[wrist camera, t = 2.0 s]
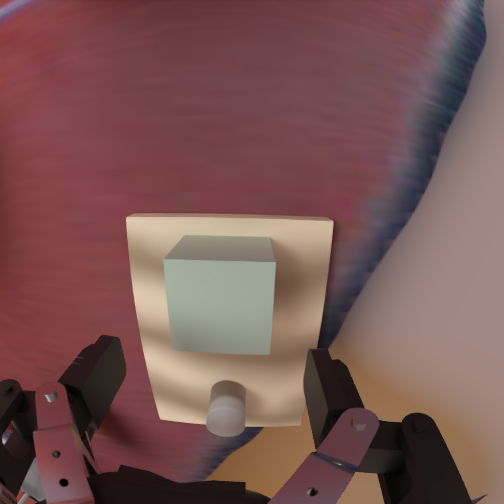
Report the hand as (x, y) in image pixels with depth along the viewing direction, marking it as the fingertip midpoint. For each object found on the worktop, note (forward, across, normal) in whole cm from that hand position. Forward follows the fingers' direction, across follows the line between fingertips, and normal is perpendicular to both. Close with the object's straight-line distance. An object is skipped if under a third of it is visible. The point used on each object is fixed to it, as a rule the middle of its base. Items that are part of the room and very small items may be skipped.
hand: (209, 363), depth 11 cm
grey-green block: (+9, 0, 0) cm, 9 cm away
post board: (+11, 0, +6) cm, 12 cm away
